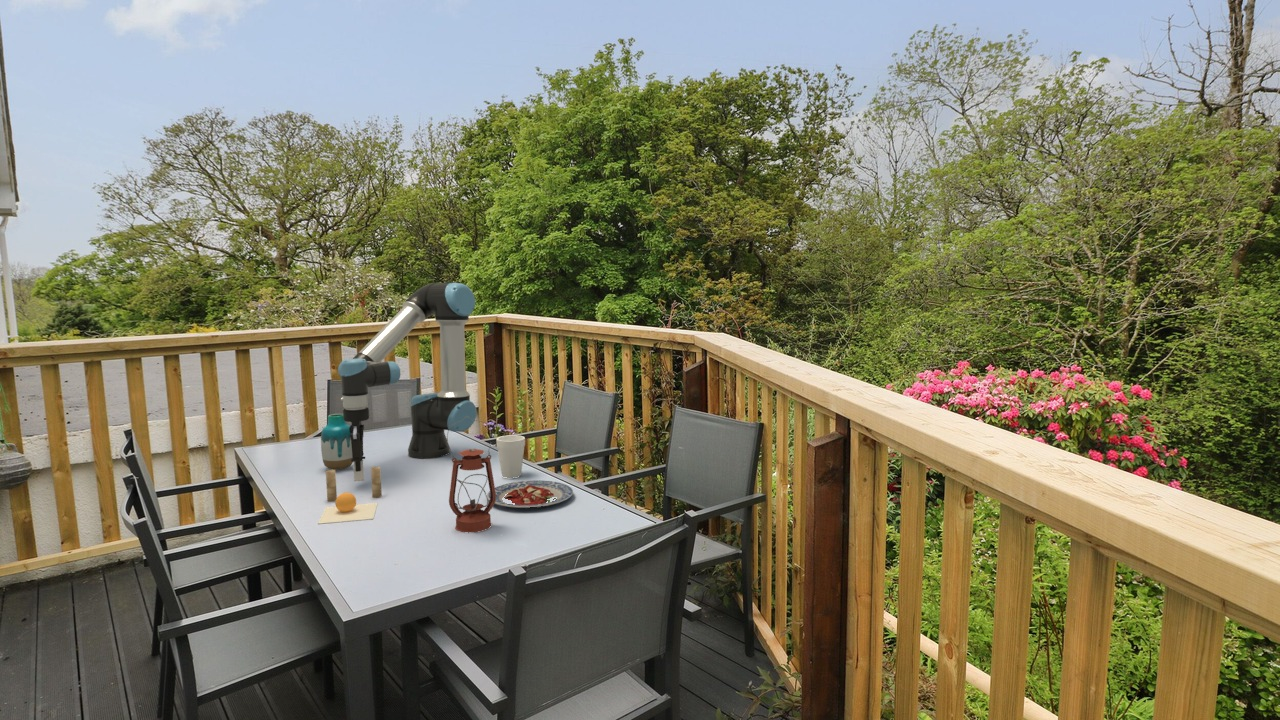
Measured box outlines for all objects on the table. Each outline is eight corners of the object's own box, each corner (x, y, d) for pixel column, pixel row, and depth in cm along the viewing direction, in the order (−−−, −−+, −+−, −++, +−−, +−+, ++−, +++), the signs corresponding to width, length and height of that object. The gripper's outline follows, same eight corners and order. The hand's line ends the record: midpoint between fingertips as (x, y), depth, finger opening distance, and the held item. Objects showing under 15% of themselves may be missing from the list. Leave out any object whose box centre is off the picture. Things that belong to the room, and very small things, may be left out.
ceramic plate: (469, 500, 205) (469, 490, 205) (537, 482, 224) (537, 473, 224) (522, 520, 188) (522, 510, 187) (590, 499, 206) (590, 489, 206)
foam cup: (491, 478, 227) (490, 440, 226) (507, 471, 236) (506, 434, 234) (516, 481, 224) (515, 442, 222) (530, 473, 232) (530, 436, 231)
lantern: (472, 535, 176) (469, 421, 172) (445, 527, 181) (441, 417, 178) (499, 524, 184) (496, 415, 181) (472, 517, 189) (469, 411, 186)
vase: (347, 473, 233) (344, 418, 230) (316, 473, 233) (313, 418, 231) (360, 465, 243) (358, 412, 241) (331, 464, 243) (328, 412, 241)
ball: (353, 505, 190) (356, 515, 194) (356, 488, 194) (358, 499, 198) (332, 505, 189) (335, 516, 193) (335, 489, 193) (338, 499, 196)
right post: (381, 494, 209) (380, 466, 208) (381, 497, 207) (379, 468, 206) (372, 495, 208) (371, 467, 207) (372, 498, 206) (370, 469, 205)
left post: (337, 498, 205) (335, 469, 204) (336, 501, 203) (334, 471, 202) (328, 499, 205) (326, 470, 204) (326, 501, 202) (325, 472, 201)
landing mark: (377, 503, 201) (377, 502, 201) (373, 519, 188) (373, 518, 188) (325, 507, 197) (325, 507, 197) (317, 524, 184) (317, 523, 184)
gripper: (345, 404, 220) (349, 475, 223) (340, 412, 208) (343, 487, 211) (370, 403, 222) (373, 473, 225) (366, 410, 210) (369, 485, 213)
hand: (359, 480), depth 218 cm, fingers closed
